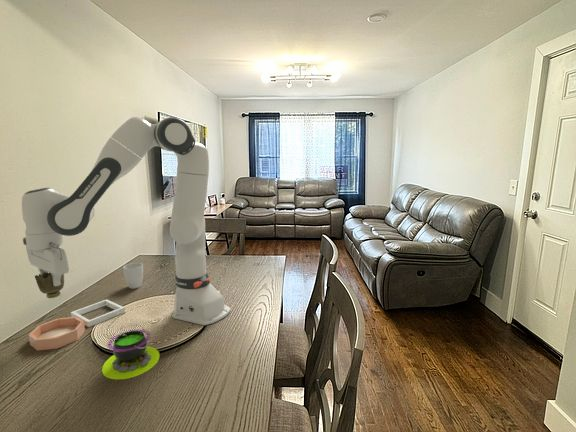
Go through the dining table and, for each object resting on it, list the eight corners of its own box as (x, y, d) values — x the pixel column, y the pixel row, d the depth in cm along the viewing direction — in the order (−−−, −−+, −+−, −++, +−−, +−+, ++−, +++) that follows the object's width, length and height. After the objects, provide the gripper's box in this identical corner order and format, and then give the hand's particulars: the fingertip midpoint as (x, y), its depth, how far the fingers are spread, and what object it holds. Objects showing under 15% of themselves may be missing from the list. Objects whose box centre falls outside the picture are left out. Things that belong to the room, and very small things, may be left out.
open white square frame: (124, 312, 120) (124, 307, 120) (88, 327, 109) (88, 322, 109) (107, 303, 127) (106, 299, 127) (71, 317, 116) (70, 312, 116)
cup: (148, 283, 148) (146, 263, 147) (138, 290, 140) (136, 269, 139) (131, 282, 149) (130, 262, 147) (121, 289, 141) (119, 268, 139)
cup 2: (34, 303, 96) (29, 277, 95) (45, 295, 103) (41, 272, 102) (62, 298, 98) (58, 273, 97) (71, 291, 105) (67, 267, 104)
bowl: (91, 334, 105) (89, 324, 105) (42, 354, 94) (41, 344, 93) (72, 322, 113) (70, 313, 112) (25, 340, 101) (23, 330, 101)
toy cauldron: (168, 362, 91) (165, 327, 89) (111, 388, 81) (106, 349, 79) (148, 341, 101) (145, 309, 99) (95, 361, 91) (91, 326, 89)
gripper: (72, 243, 95) (77, 286, 97) (43, 234, 106) (49, 273, 108) (47, 248, 89) (53, 293, 92) (20, 238, 100) (26, 279, 103)
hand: (51, 282), depth 100 cm, fingers closed on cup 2, 7 cm apart
